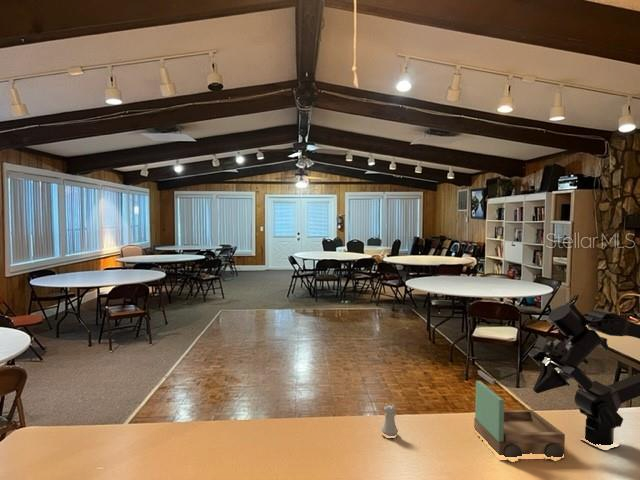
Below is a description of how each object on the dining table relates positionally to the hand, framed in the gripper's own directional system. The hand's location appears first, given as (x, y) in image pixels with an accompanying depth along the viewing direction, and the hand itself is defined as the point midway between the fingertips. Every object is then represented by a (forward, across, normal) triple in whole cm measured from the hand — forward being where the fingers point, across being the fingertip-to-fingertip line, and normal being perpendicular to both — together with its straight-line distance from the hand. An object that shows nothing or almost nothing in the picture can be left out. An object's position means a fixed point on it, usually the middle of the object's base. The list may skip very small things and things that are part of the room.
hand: (534, 391), depth 107 cm
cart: (+13, 0, +6) cm, 14 cm away
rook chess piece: (+35, -6, -16) cm, 39 cm away
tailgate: (+16, 0, -2) cm, 16 cm away
